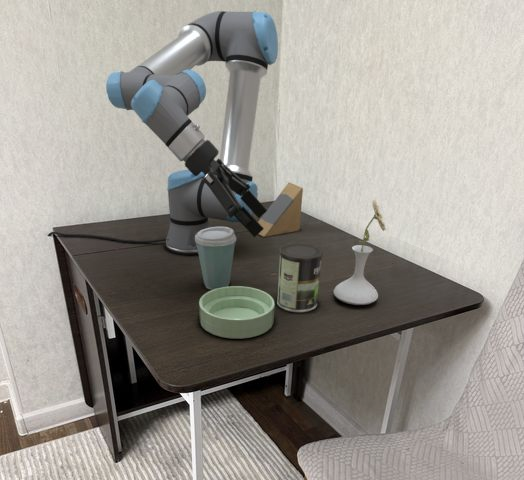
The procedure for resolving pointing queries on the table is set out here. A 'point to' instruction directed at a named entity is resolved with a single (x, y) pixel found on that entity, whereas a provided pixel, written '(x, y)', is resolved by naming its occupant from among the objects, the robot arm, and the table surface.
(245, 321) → the bowl
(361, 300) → the flower in vase
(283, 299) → the coffee can
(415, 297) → the table surface
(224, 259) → the disposable coffee cup
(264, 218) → the sandwich container
